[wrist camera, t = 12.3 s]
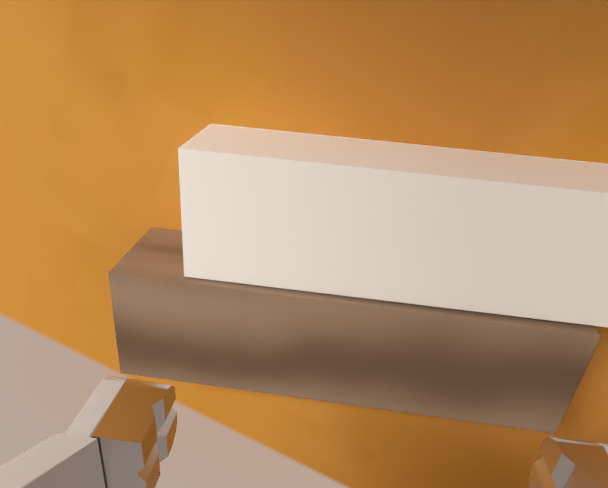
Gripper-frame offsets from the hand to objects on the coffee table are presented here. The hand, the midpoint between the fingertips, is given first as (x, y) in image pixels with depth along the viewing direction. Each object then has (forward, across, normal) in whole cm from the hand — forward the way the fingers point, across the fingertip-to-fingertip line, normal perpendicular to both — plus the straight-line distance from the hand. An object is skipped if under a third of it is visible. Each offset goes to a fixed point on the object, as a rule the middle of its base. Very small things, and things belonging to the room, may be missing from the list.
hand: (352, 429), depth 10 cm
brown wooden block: (+15, 0, +6) cm, 16 cm away
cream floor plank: (+15, -3, 0) cm, 16 cm away
